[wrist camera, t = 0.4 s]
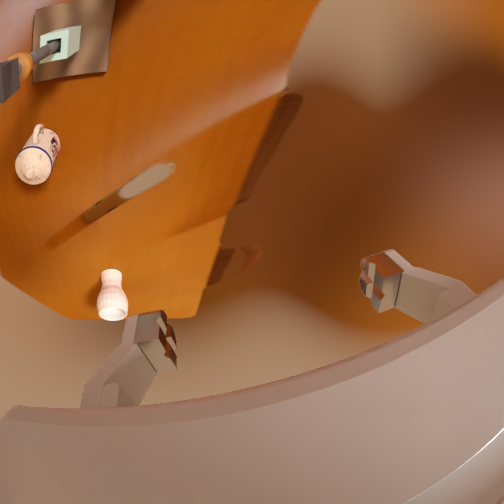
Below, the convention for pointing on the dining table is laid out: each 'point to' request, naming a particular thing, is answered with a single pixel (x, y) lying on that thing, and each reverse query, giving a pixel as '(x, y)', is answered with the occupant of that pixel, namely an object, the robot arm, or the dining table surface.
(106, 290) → the cup
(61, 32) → the marker sleeve
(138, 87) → the dining table surface
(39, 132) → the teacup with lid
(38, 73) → the post stand
